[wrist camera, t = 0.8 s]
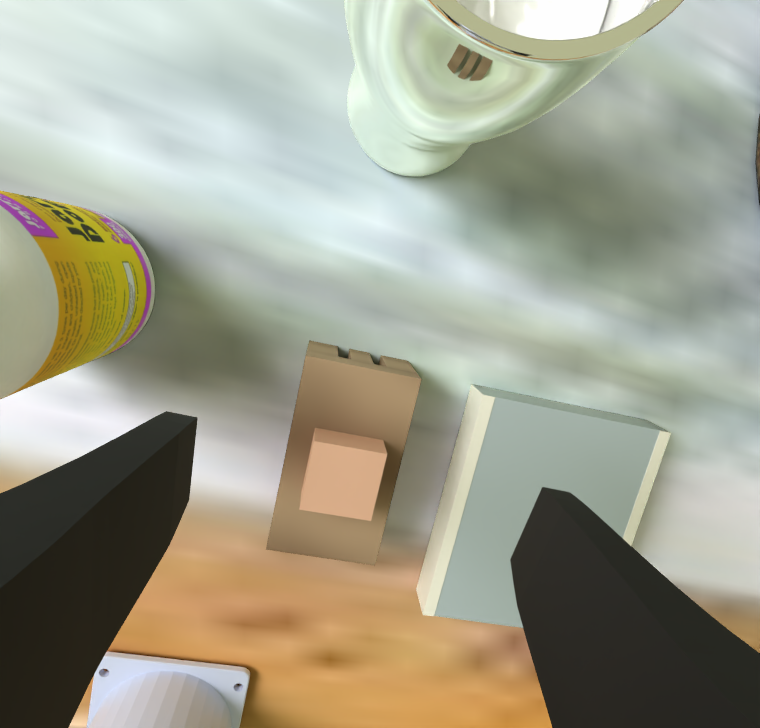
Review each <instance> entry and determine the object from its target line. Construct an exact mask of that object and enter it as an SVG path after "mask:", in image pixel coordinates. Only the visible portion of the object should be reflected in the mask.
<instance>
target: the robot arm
mask: <svg viewBox="0 0 760 728" xmlns="http://www.w3.org/2000/svg"><path fill="white" fill-rule="evenodd" d="M196 427H197V417H192V416H187V415H182V414H177V413H172V412H167V411H166V412H164V413H162V414H160V415H158V416H156V417H154V418H152V419H151V420H149V421H147V422H145V423H143V424H141V425H140V426H138V427H136V428H134V429H132V430H130V431H129V432H127V433H125V434H123V435H121V436H119V437H118V438H116V439H114V440H112V441H110V442H108V443H106V444H104V445H102V446H100V447H99V448H97V449H95V450H93V451H91V452H89V453H87V454H85V455H83V456H81V457H79V458H77V459H75V460H73V461H71V462H69V463H67V464H64V465H62V466H60V467H58V468H56V469H54V470H52V471H50V472H47V473H45V474H43V475H41V476H39V477H37V478H35V479H33V480H30V481H28V482H26V483H24V484H22V485H19V486H17V487H15V488H12V489H10V490H8V491H5V492H3V493H0V728H68V727H69V725H70V723H71V721H72V719H73V717H74V715H75V713H76V710H77V708H78V706H79V704H80V702H81V700H82V698H83V696H84V694H85V692H86V690H87V687H88V685H89V683H90V681H91V679H92V677H93V676H94V679H93V686H92V693H91V700H90V708H89V715H88V722H87V728H239V727H240V723H241V718H242V713H243V708H244V703H245V699H246V694H247V689H248V684H249V679H250V672H249V670H248V669H247V668H245V667H239V666H230V665H221V664H213V663H204V662H195V661H186V660H178V659H169V658H160V657H151V656H143V655H134V654H125V653H116V652H107V650H108V648H109V647H110V645H111V643H112V642H113V640H114V638H115V637H116V635H117V633H118V631H119V630H120V628H121V626H122V625H123V623H124V621H125V620H126V618H127V616H128V615H129V613H130V611H131V610H132V608H133V606H134V604H135V603H136V601H137V599H138V598H139V596H140V594H141V593H142V591H143V589H144V588H145V586H146V584H147V583H148V581H149V579H150V577H151V576H152V574H153V572H154V571H155V569H156V567H157V565H158V564H159V562H160V560H161V559H162V557H163V555H164V553H165V552H166V550H167V548H168V546H169V545H170V542H171V540H172V538H173V536H174V534H175V531H176V529H177V527H178V525H179V522H180V520H181V518H182V515H183V513H184V510H185V508H186V506H187V503H188V501H189V495H190V485H191V476H192V466H193V456H194V446H195V437H196ZM510 562H511V569H512V576H513V584H514V590H515V596H516V602H517V607H518V611H519V614H520V618H521V622H522V625H523V629H524V632H525V636H526V639H527V643H528V646H529V649H530V653H531V656H532V660H533V663H534V666H535V670H536V673H537V676H538V680H539V683H540V686H541V690H542V693H543V697H544V700H545V703H546V707H547V710H548V713H549V717H550V720H551V724H552V728H760V653H758V652H757V651H756V650H754V649H753V648H752V647H750V646H749V645H748V644H746V643H745V642H744V641H742V640H741V639H740V638H739V637H737V636H736V635H735V634H733V633H732V632H731V631H729V630H728V629H727V628H726V627H724V626H723V625H722V624H720V623H719V622H718V621H717V620H715V619H714V618H713V617H712V616H710V615H709V614H708V613H707V612H706V611H704V610H703V609H702V608H701V607H700V606H699V605H697V604H696V603H695V602H694V601H693V600H691V599H690V598H689V597H688V596H687V595H685V594H684V593H683V592H682V591H681V590H680V589H678V588H677V587H676V586H675V585H674V584H673V583H671V582H670V581H669V580H668V579H667V578H666V577H665V576H663V575H662V574H661V573H660V572H659V571H658V570H657V569H656V568H655V567H653V566H652V565H651V564H650V563H649V562H648V561H647V560H646V559H645V558H643V557H642V556H641V555H640V554H639V553H638V552H637V551H636V550H635V549H634V548H633V547H631V546H630V545H629V544H628V543H627V542H626V541H625V540H624V539H623V538H622V537H621V536H620V535H618V534H617V533H616V532H615V531H614V530H613V529H612V528H611V527H610V526H609V525H608V524H607V523H605V522H604V521H603V520H602V519H601V518H600V517H599V516H598V515H597V514H595V513H594V512H593V511H592V510H591V509H590V508H589V507H588V506H586V505H585V504H584V503H583V502H582V501H581V500H579V499H578V498H577V497H575V496H574V495H573V494H572V493H570V492H566V491H561V490H556V489H551V488H546V487H542V489H541V491H540V493H539V496H538V498H537V500H536V502H535V505H534V507H533V509H532V511H531V514H530V516H529V518H528V520H527V523H526V525H525V527H524V529H523V532H522V534H521V536H520V538H519V541H518V543H517V545H516V547H515V550H514V552H513V554H512V556H511V559H510ZM103 669H107V670H108V671H105V670H103ZM238 683H240V684H242V685H240V686H238V685H236V684H238Z"/></svg>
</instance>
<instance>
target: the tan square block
mask: <svg viewBox="0 0 760 728" xmlns="http://www.w3.org/2000/svg"><path fill="white" fill-rule="evenodd" d="M386 458H387V451H386V448H385V445H384V441H383V440H379V439H374V438H368V437H363V436H358V435H352V434H347V433H341V432H336V431H330V430H325V429H319V428H315V431H314V435H313V440H312V445H311V449H310V454H309V459H308V463H307V468H306V473H305V477H304V482H303V487H302V492H301V500H300V508H299V510H305V511H311V512H317V513H324V514H330V515H336V516H342V517H349V518H355V519H361V520H367V521H371V519H372V515H373V511H374V507H375V503H376V499H377V495H378V490H379V486H380V482H381V478H382V474H383V470H384V466H385V462H386Z"/></svg>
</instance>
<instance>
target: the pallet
mask: <svg viewBox="0 0 760 728" xmlns="http://www.w3.org/2000/svg"><path fill="white" fill-rule="evenodd" d="M421 380H422V379H421V378H420V376H419V375H418V374H417V372H416V371H415V370H414V368H413V367H412V366H411V364H410V363H409V362H408V361H406V360H401V359H396V358H391V357H386V356H381V357H380V361H379V365H376V364H374V363H373V361H372V359H371V356H370V354H369V353H367V352H362V351H357V350H353V349H349V353H348V358H342V357H338V346H333V345H329V344H324V343H319V342H314V341H309V344H308V348H307V352H306V356H305V361H304V366H303V371H302V376H301V381H300V386H299V391H298V396H297V401H296V405H295V410H294V415H293V420H292V425H291V430H290V435H289V440H288V445H287V450H286V454H285V459H284V464H283V469H282V474H281V479H280V484H279V489H278V494H277V499H276V503H275V508H274V513H273V518H272V523H271V528H270V533H269V538H268V543H267V548H266V550H273V551H280V552H287V553H293V554H300V555H307V556H314V557H320V558H327V559H334V560H341V561H348V562H354V563H361V564H368V565H375V564H376V560H377V556H378V552H379V548H380V544H381V540H382V536H383V532H384V528H385V524H386V520H387V516H388V512H389V508H390V504H391V500H392V496H393V492H394V488H395V484H396V480H397V476H398V472H399V468H400V464H401V460H402V456H403V452H404V448H405V444H406V440H407V436H408V432H409V428H410V424H411V420H412V416H413V412H414V408H415V404H416V400H417V396H418V392H419V388H420V384H421ZM315 428H319V429H325V430H330V431H336V432H341V433H347V434H352V435H358V436H363V437H368V438H374V439H379V440H383V441H384V445H385V448H386V451H387V458H386V462H385V466H384V470H383V474H382V478H381V482H380V486H379V490H378V495H377V499H376V503H375V507H374V511H373V515H372V519H371V521H367V520H361V519H355V518H349V517H342V516H336V515H330V514H324V513H317V512H311V511H305V510H299V508H300V500H301V492H302V487H303V482H304V477H305V473H306V468H307V463H308V459H309V454H310V449H311V445H312V440H313V435H314V431H315Z"/></svg>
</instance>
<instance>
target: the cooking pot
mask: <svg viewBox="0 0 760 728" xmlns="http://www.w3.org/2000/svg"><path fill="white" fill-rule="evenodd" d="M756 171H757V182H758V193H759V203H760V116H759V123H758V137H757V151H756Z"/></svg>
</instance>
